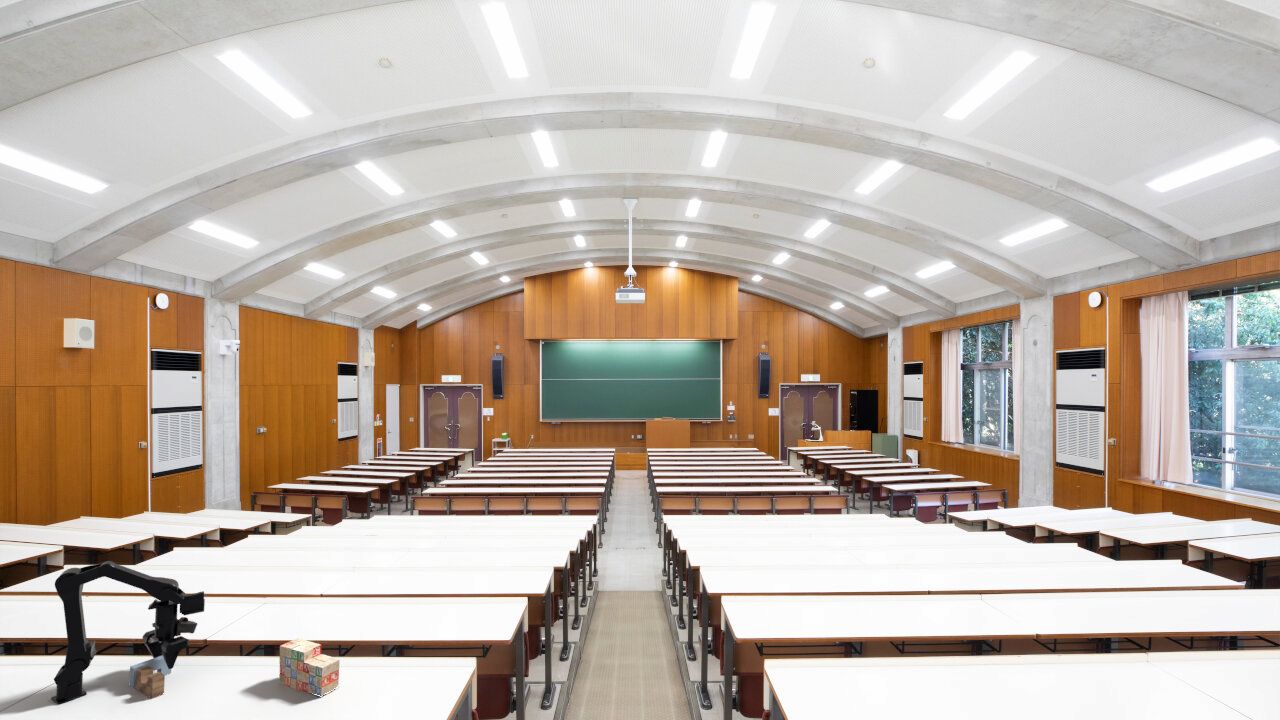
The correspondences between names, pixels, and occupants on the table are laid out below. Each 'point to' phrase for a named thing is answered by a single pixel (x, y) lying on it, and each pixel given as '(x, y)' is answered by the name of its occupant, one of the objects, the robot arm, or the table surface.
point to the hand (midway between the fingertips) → (164, 665)
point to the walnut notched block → (149, 682)
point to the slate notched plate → (154, 663)
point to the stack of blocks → (307, 667)
